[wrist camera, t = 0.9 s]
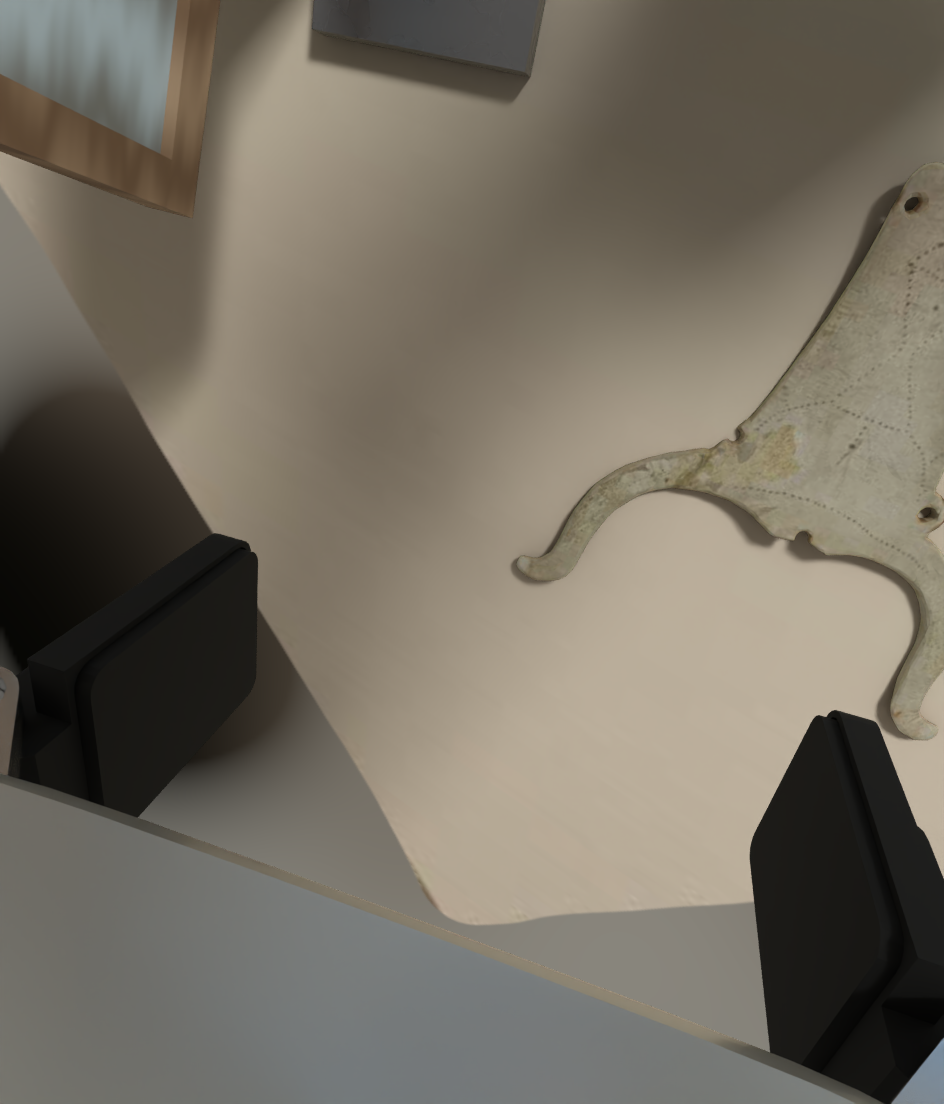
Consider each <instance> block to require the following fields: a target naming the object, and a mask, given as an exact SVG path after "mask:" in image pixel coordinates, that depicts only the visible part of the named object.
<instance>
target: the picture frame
mask: <svg viewBox="0 0 944 1104" xmlns="http://www.w3.org/2000/svg"><path fill="white" fill-rule="evenodd" d="M219 6H220V0H0V151H1V152H4V153H6V154H9V155H12V156H14V157H17V158H20V159H22V160H25V161H27V162H30V163H33V164H35V165H38V166H41V167H43V168H46V169H49V170H51V171H54V172H57V173H59V174H62V175H65V176H67V177H70V178H73V179H75V180H78V181H81V182H83V183H86V184H88V185H91V186H94V187H96V188H99V189H102V190H104V191H107V192H110V193H112V194H115V195H118V196H120V197H123V198H126V199H128V200H131V201H134V202H136V203H139V204H141V205H144V206H147V207H150V208H154V209H158V210H162V211H166V212H170V213H174V214H178V215H182V216H186V217H190V218H193V211H194V203H195V195H196V187H197V180H198V172H199V164H200V156H201V148H202V140H203V132H204V124H205V117H206V109H207V101H208V93H209V85H210V77H211V69H212V61H213V54H214V46H215V38H216V30H217V22H218V14H219Z"/></svg>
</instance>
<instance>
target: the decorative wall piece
mask: <svg viewBox="0 0 944 1104" xmlns="http://www.w3.org/2000/svg"><path fill="white" fill-rule="evenodd" d="M912 197H917V198H918V204H917V205H916V206H915V207H914V209H912V210H909V211H906V210H905V208H904V205H905V203H906V201H907V200H908V199H910V198H912ZM737 429H738V430H739V431H740V437H739V439H737V440H736V441H730V440H729V439H725V440H723V441H721V442H720V443H719V444H717V445H716V446H715V447H713V448H711V449H705V448H700V449H692V450H687V451H679V452H670V453H666V454H662V455H658V456H654V457H650V458H646V459H643V460H640V461H637V462H634V463H631V464H628V465H625V466H623V467H621V468H619V469H618V470H616V471H614V472H612V473H611V474H609V475H608V476H606V477H605V478H603V479H602V480H600V481H599V482H597V483H596V484H595V485H594V486H593V487H592V488H591V489H590V491H589V492H588V493H587V494H586V495H585V496H584V498H583V499H582V500H581V501H580V503H579V504H578V505H577V507H576V508H575V509H574V510H573V512H572V514H571V515H570V517H569V519H568V521H567V523H566V525H565V527H564V529H563V531H562V533H561V535H560V537H559V539H558V541H557V542H556V544H555V546H554V547H553V549H552V550H551V551H550V552H549V553H548V554H546V555H544V556H542V557H538V558H533V557H528V556H520V557H519V559H518V561H517V562H516V563H517V567H518V569H519V570H520V571H521V572H522V573H523V574H525V575H526V576H528V577H530V578H532V579H534V580H543V581H552V580H559V579H561V578H563V577H565V576H567V575H568V574H569V573H570V572H571V571H572V570H573V568H574V566H575V565H576V563H577V561H578V559H579V558H580V556H581V554H582V552H583V551H584V549H585V547H586V545H587V544H588V542H589V540H590V539H591V538H592V536H593V535H594V533H595V532H596V531H597V529H598V528H599V527H600V526H601V524H602V523H603V522H604V521H605V520H606V518H607V517H608V516H609V515H610V514H611V513H612V512H613V511H614V510H616V509H617V508H619V507H620V506H622V505H624V504H625V503H627V502H628V501H630V500H632V499H633V498H635V497H637V496H639V495H642V494H644V493H648V492H651V491H655V490H661V489H668V488H677V489H686V490H694V491H699V492H704V493H708V494H712V495H714V496H717V497H721V498H723V499H726V500H728V501H730V502H732V503H734V504H736V505H738V506H739V507H741V508H742V509H744V510H745V511H746V512H748V513H749V514H750V515H752V516H753V517H754V518H755V520H756V521H757V522H758V523H759V524H760V525H761V526H762V527H763V528H764V529H765V530H766V531H767V532H768V533H769V534H770V535H772V536H774V537H778V538H781V539H785V540H792V541H794V539H795V536H796V535H797V534H798V533H799V532H801V531H805V532H806V533H807V535H808V542H809V544H811V545H812V546H813V547H815V548H816V549H818V550H819V551H821V552H822V553H824V554H825V555H849V556H858V557H863V558H867V559H869V560H872V561H874V562H877V563H879V564H881V565H883V566H886V567H888V568H890V569H891V570H893V571H895V572H896V573H898V574H899V575H901V576H902V577H903V578H904V579H905V580H906V581H907V582H908V583H909V584H910V585H911V586H912V588H913V589H914V590H915V593H916V596H917V599H918V602H919V608H920V614H921V619H920V626H919V631H918V634H917V638H916V640H915V643H914V646H913V648H912V650H911V651H910V653H909V655H908V657H907V659H906V661H905V663H904V665H903V667H902V669H901V671H900V673H899V675H898V678H897V681H896V685H895V688H894V692H893V697H892V699H891V705H890V712H891V718H892V719H893V721H894V723H895V725H896V727H897V728H898V730H900V731H901V732H902V733H903V734H905V735H907V736H908V737H910V738H912V739H915V740H929V739H932V738H933V737H934V736H935V735H936V734H937V733H938V728H937V726H936V725H934V724H932V723H930V722H928V721H927V720H926V719H924V718H923V717H922V716H921V714H920V712H919V710H920V706H921V704H922V701H923V699H924V697H925V695H926V693H927V692H928V690H929V688H930V687H931V685H932V684H933V682H934V681H935V680H936V678H937V677H938V676H939V675H940V674H941V673H942V671H943V670H944V555H943V554H942V553H941V551H940V550H939V549H938V548H937V546H936V545H935V544H934V543H933V542H932V541H931V540H930V539H929V538H928V535H929V533H930V532H932V531H933V530H935V529H937V528H938V527H939V526H940V525H942V524H943V522H944V499H943V498H942V497H941V496H940V495H939V494H938V493H937V492H935V491H936V487H937V485H938V483H939V481H940V478H941V476H942V474H943V472H944V163H938V162H933V163H928V164H924V165H923V166H922V167H920V168H919V169H918V170H917V171H915V172H914V173H913V174H912V175H911V176H910V178H909V179H908V180H907V182H906V183H905V185H904V187H903V189H902V191H901V193H900V195H899V196H898V198H897V200H896V201H895V203H894V204H893V206H892V208H891V210H890V212H889V214H888V217H887V218H886V220H885V222H884V224H883V226H882V228H881V230H880V231H879V233H878V235H877V237H876V239H875V241H874V242H873V244H872V246H871V248H870V250H869V252H868V253H867V255H866V257H865V258H864V260H863V262H862V263H861V265H860V266H859V268H858V270H857V271H856V273H855V275H854V276H853V278H852V279H851V281H850V283H849V284H848V286H847V287H846V289H845V290H844V292H843V293H842V295H841V296H840V298H839V299H838V301H837V302H836V304H835V306H834V307H833V309H832V310H831V312H830V314H829V315H828V317H827V318H826V319H825V321H824V322H823V324H822V325H821V326H820V328H819V329H818V331H817V332H816V333H815V335H814V336H813V337H812V339H811V340H810V341H809V343H808V344H807V345H806V347H805V348H804V349H803V351H802V352H801V353H800V355H799V356H798V357H797V359H796V360H795V361H794V363H793V364H792V366H791V367H790V368H789V370H788V371H787V372H786V374H785V375H784V376H783V377H782V379H781V380H780V381H779V383H778V384H777V386H776V387H775V388H774V389H773V391H772V392H771V393H770V394H769V395H768V396H767V398H766V399H765V400H764V402H763V403H762V404H761V406H760V407H759V408H758V409H757V410H756V411H755V412H754V413H753V415H752V416H751V417H749V418H748V419H747V420H745V421H744V422H743V423H741V424H740V425H739V426H738V427H737ZM926 507H930V508H931V514H930V515H929V516H927V517H924V518H918V514H919V512H920V511H921V510H922V509H924V508H926Z"/></svg>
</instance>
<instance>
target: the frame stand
mask: <svg viewBox="0 0 944 1104" xmlns="http://www.w3.org/2000/svg"><path fill="white" fill-rule="evenodd" d="M544 5H545V0H314V9H313V23H312V29H313V30H315V31H317V32H319V33H321V34H323V35H325V36H330V37H335V38H340V39H345V40H350V41H355V42H360V43H364V44H369V45H374V46H379V47H384V48H389V49H394V50H399V51H404V52H409V53H414V54H419V55H424V56H428V57H433V58H438V59H443V60H448V61H453V62H458V63H463V64H468V65H473V66H478V67H483V68H487V69H492V70H497V71H502V72H507V73H512V74H517V75H522V76H527V77H530V76H531V71H532V66H533V61H534V56H535V51H536V46H537V41H538V36H539V31H540V26H541V20H542V15H543V10H544Z"/></svg>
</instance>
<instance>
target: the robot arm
mask: <svg viewBox="0 0 944 1104" xmlns="http://www.w3.org/2000/svg"><path fill="white" fill-rule="evenodd" d="M257 584H258V558H257V555H256V554H255V553H254V552H251V549H250V546H249V544H248V543H247V542H246V541H242V540H239V539H235V538H232V537H228V536H225V535H221V534H216V533H214V534H212V535H210V536H208V537H207V538H205V539H204V540H203V541H201V542H200V543H198V544H196V545H195V546H193V547H192V548H191V549H189V550H188V551H186V552H185V553H183V554H182V555H180V556H179V557H177V558H176V559H174V560H173V561H171V562H170V563H168V564H167V565H165V566H164V567H162V568H161V569H160V570H158V571H157V572H155V573H154V574H152V575H151V576H149V577H148V578H146V579H145V580H143V581H142V582H140V583H139V584H137V585H136V586H135V587H133V588H131V589H130V590H129V591H127V592H126V593H124V594H123V595H121V596H120V597H118V598H117V599H115V600H114V601H112V602H111V603H109V604H108V605H106V606H105V607H103V608H102V609H101V610H99V611H98V612H96V613H95V614H93V615H92V616H90V617H89V618H87V619H86V620H84V621H83V622H81V623H80V624H78V625H77V626H75V627H74V628H73V629H71V630H70V631H68V632H67V633H65V634H64V635H62V636H61V637H59V638H58V639H56V640H55V641H53V642H52V643H50V644H49V645H47V646H46V647H44V648H43V649H42V650H40V651H39V652H37V653H36V654H34V655H33V656H31V657H30V658H28V659H27V662H28V668H26V669H25V670H23V671H22V672H21V673H19V674H18V675H16V676H15V675H14V674H13V673H12V672H11V671H10V670H7V669H5V668H3V667H1V666H0V1104H944V879H943V876H942V873H941V871H940V868H939V866H938V863H937V861H936V858H935V856H934V853H933V851H932V848H931V846H930V843H929V841H928V839H927V837H926V835H925V833H924V832H923V830H921V829H920V828H919V827H918V826H917V824H916V822H915V819H914V817H913V814H912V812H911V809H910V806H909V804H908V801H907V799H906V796H905V793H904V791H903V788H902V786H901V783H900V780H899V778H898V775H897V773H896V770H895V768H894V765H893V762H892V760H891V757H890V755H889V752H888V749H887V747H886V744H885V742H884V739H883V736H882V734H881V731H880V729H879V726H878V725H877V723H876V722H874V721H872V720H869V719H865V718H862V717H858V716H855V715H851V714H848V713H844V712H841V711H837V710H834V711H831V712H830V713H829V714H828V715H827V717H823V716H820V715H818V716H816V717H815V718H814V719H813V720H812V722H811V724H810V726H809V728H808V730H807V732H806V734H805V736H804V738H803V739H802V741H801V743H800V745H799V747H798V749H797V751H796V753H795V755H794V757H793V759H792V761H791V763H790V765H789V767H788V769H787V771H786V773H785V775H784V777H783V779H782V781H781V783H780V784H779V786H778V788H777V790H776V792H775V794H774V796H773V798H772V800H771V802H770V804H769V806H768V808H767V810H766V812H765V814H764V816H763V818H762V820H761V822H760V824H759V826H758V827H757V829H756V831H755V833H754V836H753V839H752V842H751V847H750V866H751V875H752V885H753V894H754V904H755V913H756V922H757V932H758V940H759V950H760V960H761V970H762V979H763V988H764V998H765V1007H766V1017H767V1026H768V1035H769V1044H770V1052H767V1051H765V1050H762V1049H760V1048H757V1047H755V1046H752V1045H749V1044H747V1043H744V1042H742V1041H739V1040H736V1039H734V1038H731V1037H729V1036H727V1035H724V1034H721V1033H719V1032H716V1031H714V1030H711V1029H708V1028H706V1027H703V1026H701V1025H698V1024H695V1023H693V1022H691V1021H688V1020H685V1019H683V1018H680V1017H678V1016H675V1015H673V1014H670V1013H668V1012H665V1011H662V1010H660V1009H657V1008H654V1007H652V1006H649V1005H646V1004H644V1003H641V1002H638V1001H636V1000H633V999H630V998H628V997H625V996H622V995H620V994H617V993H614V992H611V991H609V990H606V989H603V988H601V987H598V986H595V985H593V984H590V983H587V982H585V981H582V980H579V979H577V978H574V977H571V976H569V975H566V974H563V973H561V972H558V971H555V970H552V969H550V968H547V967H545V966H542V965H539V964H536V963H534V962H531V961H528V960H526V959H523V958H520V957H518V956H515V955H512V954H510V953H507V952H504V951H502V950H499V949H496V948H494V947H491V946H488V945H485V944H483V943H480V942H477V941H475V940H472V939H469V938H467V937H464V936H461V935H458V934H455V933H453V932H450V931H447V930H445V929H442V928H439V927H436V926H434V925H431V924H429V923H426V922H423V921H420V920H418V919H415V918H412V917H409V916H406V915H404V914H401V913H399V912H396V911H393V910H390V909H388V908H385V907H382V906H380V905H377V904H374V903H371V902H369V901H366V900H363V899H360V898H358V897H355V896H352V895H349V894H347V893H344V892H341V891H339V890H336V889H333V888H330V887H328V886H325V885H322V884H319V883H317V882H314V881H311V880H308V879H306V878H303V877H300V876H298V875H295V874H292V873H289V872H287V871H284V870H281V869H278V868H276V867H273V866H270V865H267V864H264V863H261V862H259V861H256V860H253V859H251V858H248V857H245V856H242V855H239V854H237V853H234V852H231V851H228V850H226V849H223V848H220V847H217V846H214V845H211V844H209V843H206V842H203V841H201V840H198V839H195V838H192V837H190V836H187V835H184V834H181V833H178V832H176V831H173V830H170V829H167V828H164V827H162V826H159V825H156V824H153V823H150V822H148V821H145V820H142V819H139V818H138V817H139V815H140V814H141V813H142V812H143V811H144V810H145V809H146V808H147V807H148V805H149V804H150V803H151V802H152V801H153V800H154V799H155V798H156V796H158V794H159V793H160V792H161V791H162V790H163V789H164V788H165V787H166V786H167V784H168V783H169V782H170V781H171V780H172V779H173V778H174V777H175V775H177V773H178V772H179V771H180V770H181V769H182V768H183V767H184V766H185V765H186V763H187V762H188V761H189V760H190V759H191V758H192V757H193V756H194V755H195V754H196V752H197V751H198V750H199V749H200V748H201V747H202V746H203V745H204V743H205V742H206V741H207V740H208V739H209V738H210V737H211V736H212V735H213V734H214V732H215V731H216V730H217V729H218V728H219V727H220V726H221V725H222V723H223V722H224V721H225V720H226V719H227V718H228V717H229V716H230V715H231V714H232V713H233V711H234V710H235V709H236V708H237V707H238V706H239V705H240V704H241V703H242V701H243V700H244V699H245V698H246V697H247V696H248V694H249V693H250V692H251V690H252V688H253V685H254V682H255V679H256V648H257Z"/></svg>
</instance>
